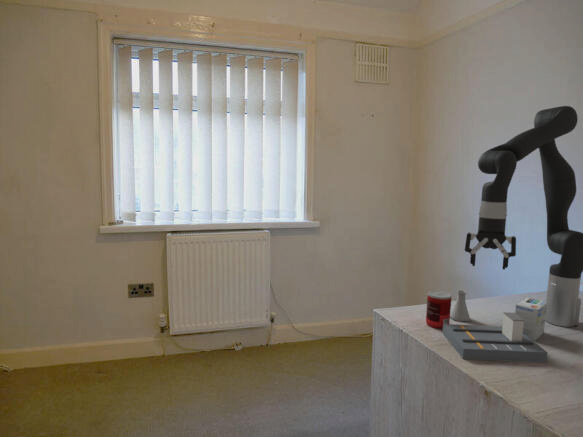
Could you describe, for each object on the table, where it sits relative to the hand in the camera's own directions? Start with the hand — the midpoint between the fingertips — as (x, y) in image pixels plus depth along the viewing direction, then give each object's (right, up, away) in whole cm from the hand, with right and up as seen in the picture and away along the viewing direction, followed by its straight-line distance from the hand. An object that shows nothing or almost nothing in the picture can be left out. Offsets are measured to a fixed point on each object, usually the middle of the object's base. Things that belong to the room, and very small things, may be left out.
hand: (488, 267), depth 126 cm
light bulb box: (+16, -23, +6) cm, 29 cm away
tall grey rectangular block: (+5, -21, -5) cm, 22 cm away
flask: (-1, -21, +18) cm, 28 cm away
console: (-2, -24, -4) cm, 24 cm away
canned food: (-12, -21, +12) cm, 27 cm away
